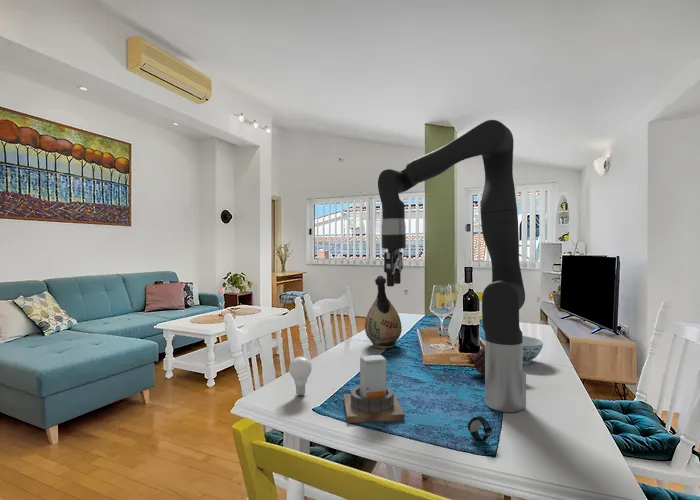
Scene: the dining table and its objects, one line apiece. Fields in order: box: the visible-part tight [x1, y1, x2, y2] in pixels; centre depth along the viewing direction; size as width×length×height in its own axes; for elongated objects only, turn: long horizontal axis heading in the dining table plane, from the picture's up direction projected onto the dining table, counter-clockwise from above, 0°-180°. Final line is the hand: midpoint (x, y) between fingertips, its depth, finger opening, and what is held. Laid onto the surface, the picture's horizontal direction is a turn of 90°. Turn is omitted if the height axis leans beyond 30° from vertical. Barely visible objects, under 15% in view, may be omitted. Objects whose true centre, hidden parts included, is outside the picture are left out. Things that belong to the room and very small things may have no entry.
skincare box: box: [359, 354, 387, 399], centre depth 100 cm, size 6×4×12 cm
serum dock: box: [343, 385, 405, 424], centre depth 100 cm, size 14×14×4 cm
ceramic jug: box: [364, 275, 402, 350], centre depth 161 cm, size 17×15×30 cm
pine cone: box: [466, 347, 485, 376], centre depth 123 cm, size 18×10×10 cm, turn 57°
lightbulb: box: [288, 356, 313, 397], centre depth 109 cm, size 6×6×11 cm
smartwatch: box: [467, 415, 492, 443], centre depth 84 cm, size 4×5×5 cm
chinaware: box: [523, 335, 544, 365], centre depth 140 cm, size 15×15×8 cm
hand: (393, 285), depth 121 cm, fingers open, 8 cm apart
